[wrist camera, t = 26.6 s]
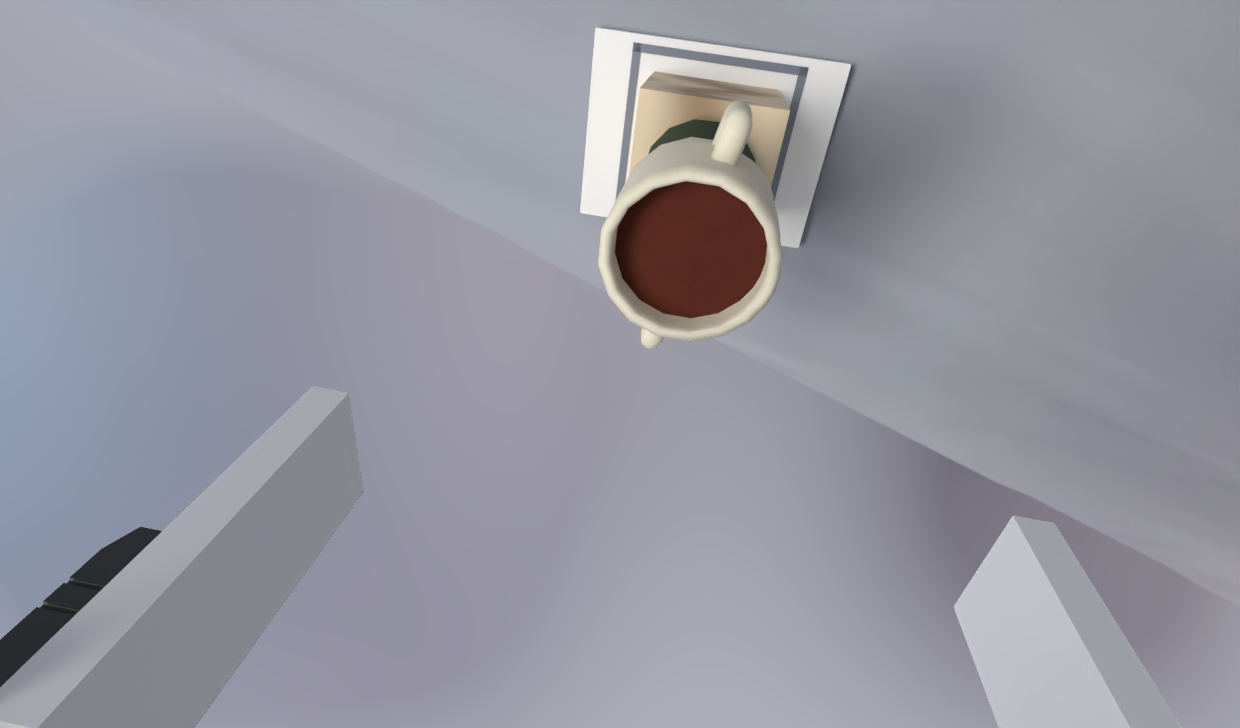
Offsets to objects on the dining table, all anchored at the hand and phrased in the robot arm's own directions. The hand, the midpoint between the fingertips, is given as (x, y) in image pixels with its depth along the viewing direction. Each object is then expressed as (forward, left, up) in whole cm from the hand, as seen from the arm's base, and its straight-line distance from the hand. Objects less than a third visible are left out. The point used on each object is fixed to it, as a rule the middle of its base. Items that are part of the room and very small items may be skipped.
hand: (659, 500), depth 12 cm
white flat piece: (0, 0, -35) cm, 35 cm away
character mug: (0, 0, -26) cm, 26 cm away
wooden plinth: (0, 0, -34) cm, 34 cm away
